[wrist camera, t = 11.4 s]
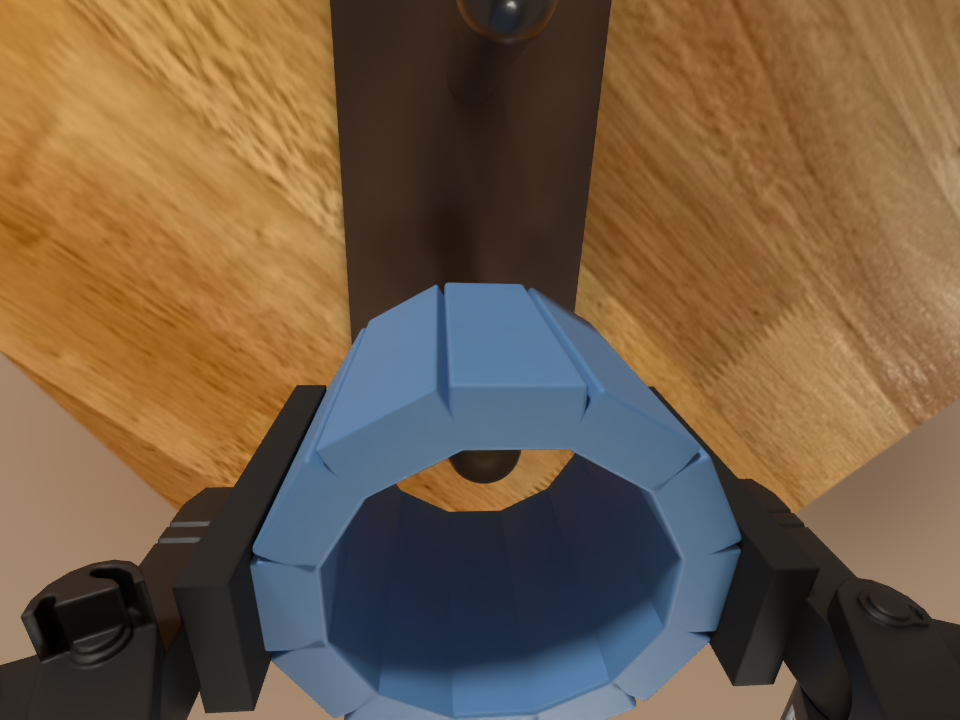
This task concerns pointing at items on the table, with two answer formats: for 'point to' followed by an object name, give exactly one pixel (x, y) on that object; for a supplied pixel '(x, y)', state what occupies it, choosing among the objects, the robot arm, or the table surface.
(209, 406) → the table surface
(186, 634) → the robot arm
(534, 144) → the peg stand
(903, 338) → the table surface
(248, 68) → the table surface
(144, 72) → the table surface
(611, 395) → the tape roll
